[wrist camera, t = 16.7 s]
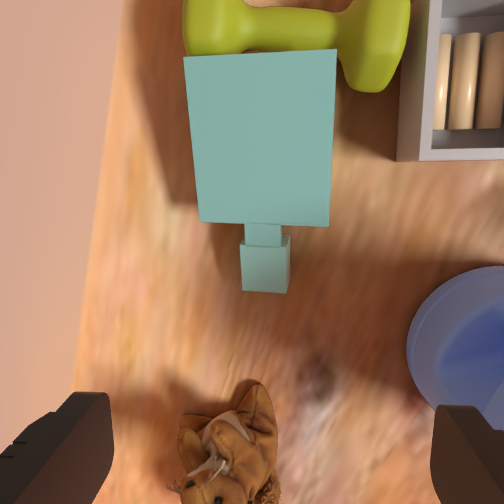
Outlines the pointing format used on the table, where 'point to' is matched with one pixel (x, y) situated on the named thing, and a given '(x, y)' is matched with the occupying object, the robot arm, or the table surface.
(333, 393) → the table surface
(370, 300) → the table surface
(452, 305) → the water jug
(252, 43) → the dumbbell
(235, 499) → the stuffed squirrel
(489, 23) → the tub
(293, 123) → the teal flat paddle shape
